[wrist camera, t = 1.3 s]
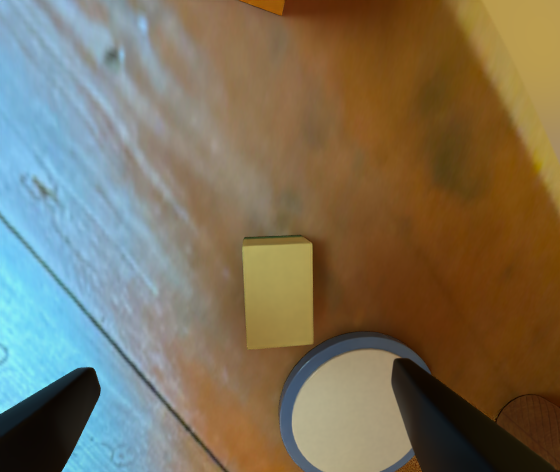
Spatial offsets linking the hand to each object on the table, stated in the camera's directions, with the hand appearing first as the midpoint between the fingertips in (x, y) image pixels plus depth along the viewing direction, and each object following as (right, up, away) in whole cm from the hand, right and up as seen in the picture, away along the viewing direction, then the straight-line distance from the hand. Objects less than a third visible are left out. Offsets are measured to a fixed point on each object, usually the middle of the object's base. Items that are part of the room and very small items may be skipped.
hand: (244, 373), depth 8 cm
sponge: (+1, +1, +13) cm, 13 cm away
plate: (+8, -11, +15) cm, 21 cm away
